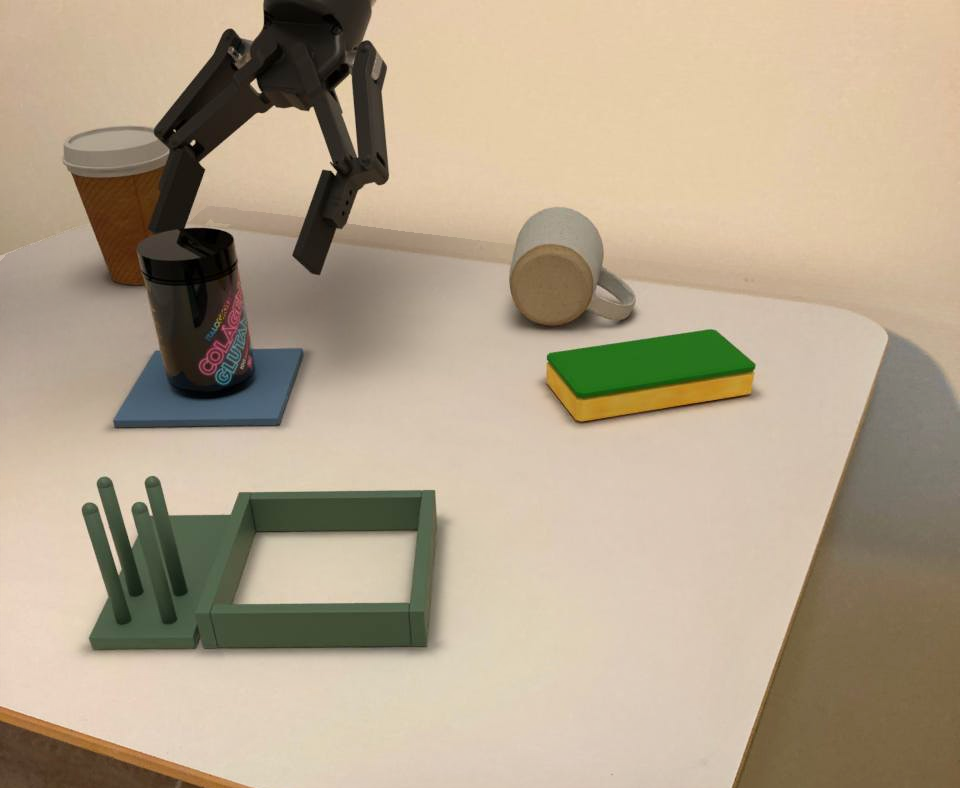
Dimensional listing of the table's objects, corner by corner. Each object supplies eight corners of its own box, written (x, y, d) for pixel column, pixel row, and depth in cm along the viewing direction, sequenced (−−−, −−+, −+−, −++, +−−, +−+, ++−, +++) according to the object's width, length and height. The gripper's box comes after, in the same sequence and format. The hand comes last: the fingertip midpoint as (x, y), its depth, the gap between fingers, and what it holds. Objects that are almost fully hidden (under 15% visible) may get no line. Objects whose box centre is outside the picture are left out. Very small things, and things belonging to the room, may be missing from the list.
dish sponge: (753, 395, 77) (758, 364, 75) (577, 424, 74) (578, 392, 72) (710, 356, 82) (714, 326, 80) (544, 382, 79) (545, 351, 78)
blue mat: (114, 427, 75) (112, 420, 75) (156, 357, 84) (155, 350, 84) (279, 425, 75) (278, 417, 74) (303, 354, 84) (302, 347, 84)
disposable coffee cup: (104, 258, 103) (71, 126, 95) (201, 253, 103) (176, 121, 95) (83, 294, 95) (45, 154, 88) (187, 289, 96) (159, 150, 88)
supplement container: (189, 410, 76) (158, 267, 69) (154, 378, 80) (121, 241, 73) (273, 385, 79) (250, 245, 72) (234, 355, 83) (210, 221, 76)
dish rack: (91, 649, 56) (48, 520, 50) (149, 525, 65) (117, 406, 60) (426, 646, 55) (417, 516, 50) (437, 522, 64) (430, 401, 59)
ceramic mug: (505, 329, 87) (507, 236, 82) (515, 292, 93) (516, 203, 88) (633, 335, 86) (642, 241, 81) (634, 297, 92) (642, 207, 87)
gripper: (491, 30, 76) (395, 302, 76) (226, 10, 86) (140, 251, 85) (451, -47, 69) (346, 251, 69) (168, -59, 79) (74, 202, 78)
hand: (231, 252), depth 77 cm, fingers open, 13 cm apart
